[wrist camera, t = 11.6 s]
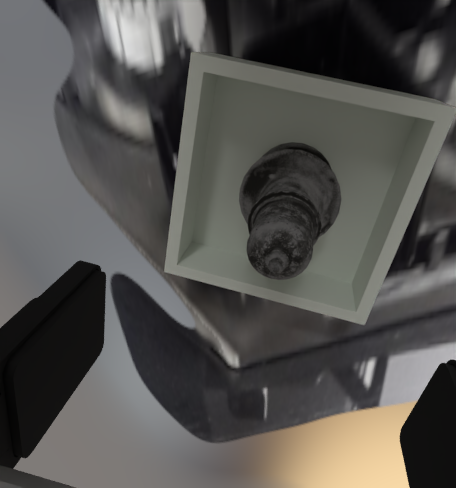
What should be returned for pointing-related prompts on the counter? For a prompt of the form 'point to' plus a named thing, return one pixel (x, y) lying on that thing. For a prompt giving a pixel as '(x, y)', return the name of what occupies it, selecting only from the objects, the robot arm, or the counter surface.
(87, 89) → the counter surface
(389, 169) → the sage bin
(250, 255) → the salt shaker
